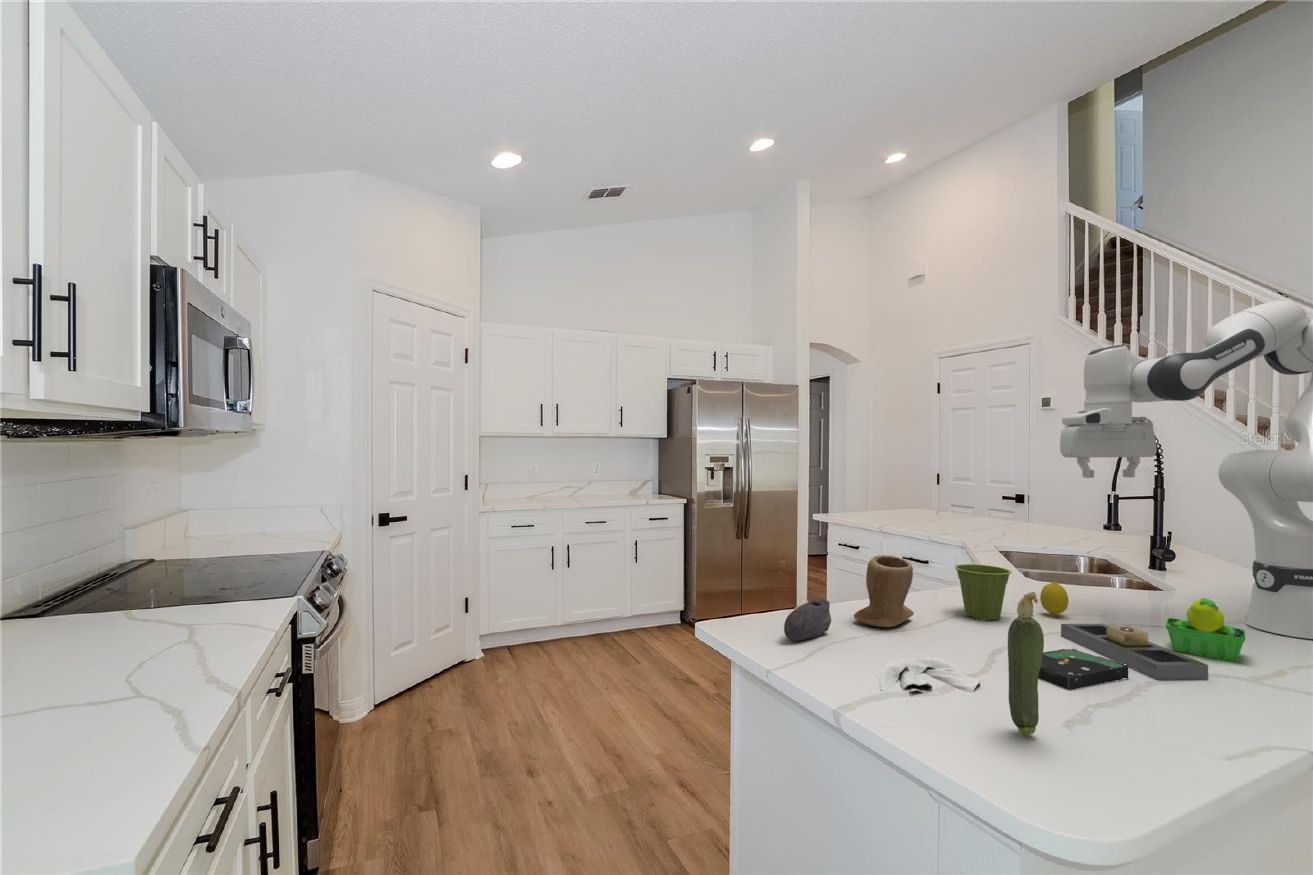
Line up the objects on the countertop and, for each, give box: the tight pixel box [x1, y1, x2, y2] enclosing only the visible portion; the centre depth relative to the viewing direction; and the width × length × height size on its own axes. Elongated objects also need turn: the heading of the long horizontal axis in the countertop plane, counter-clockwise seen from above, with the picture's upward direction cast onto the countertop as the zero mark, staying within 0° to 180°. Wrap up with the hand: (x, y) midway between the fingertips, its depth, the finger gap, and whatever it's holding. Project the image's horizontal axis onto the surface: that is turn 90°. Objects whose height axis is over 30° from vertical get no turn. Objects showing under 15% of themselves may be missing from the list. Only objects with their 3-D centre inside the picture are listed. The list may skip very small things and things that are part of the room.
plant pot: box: [954, 563, 1013, 621], centre depth 143 cm, size 12×12×11 cm
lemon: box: [1039, 581, 1069, 617], centre depth 143 cm, size 6×6×8 cm
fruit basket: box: [1164, 597, 1247, 663], centre depth 118 cm, size 11×9×11 cm
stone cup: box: [853, 554, 915, 628], centre depth 138 cm, size 15×12×15 cm
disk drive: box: [1038, 648, 1129, 691], centre depth 108 cm, size 10×3×15 cm
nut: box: [1106, 625, 1149, 648], centre depth 117 cm, size 4×4×5 cm
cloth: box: [878, 657, 981, 697], centre depth 104 cm, size 20×22×2 cm
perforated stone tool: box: [783, 598, 832, 642], centre depth 128 cm, size 15×5×7 cm, turn 130°
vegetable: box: [1007, 591, 1045, 738], centre depth 85 cm, size 4×4×20 cm
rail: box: [1060, 623, 1209, 681], centre depth 117 cm, size 9×24×2 cm, turn 1°
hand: (1108, 477), depth 140 cm, fingers open, 8 cm apart
